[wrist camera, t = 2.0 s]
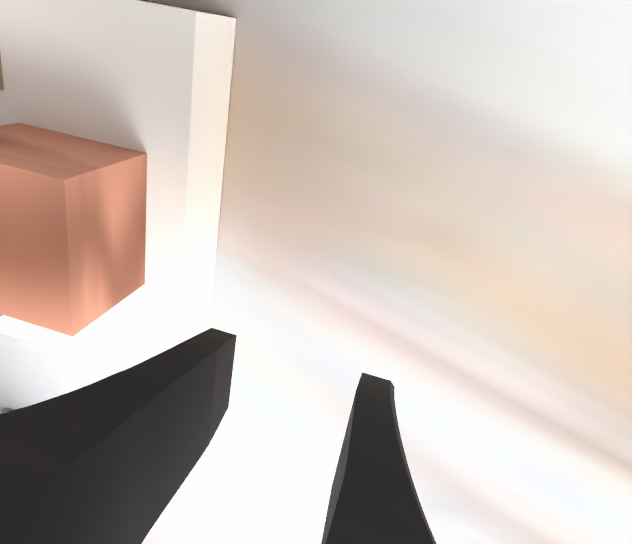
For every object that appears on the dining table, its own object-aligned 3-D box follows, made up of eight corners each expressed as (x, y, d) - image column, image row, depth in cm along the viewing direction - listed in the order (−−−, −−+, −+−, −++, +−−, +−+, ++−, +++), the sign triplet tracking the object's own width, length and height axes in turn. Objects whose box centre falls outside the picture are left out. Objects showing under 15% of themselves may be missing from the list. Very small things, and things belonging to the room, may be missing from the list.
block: (144, 283, 19) (72, 336, 16) (30, 251, 20) (-63, 294, 16) (147, 153, 17) (64, 179, 13) (19, 122, 18) (-92, 140, 14)
